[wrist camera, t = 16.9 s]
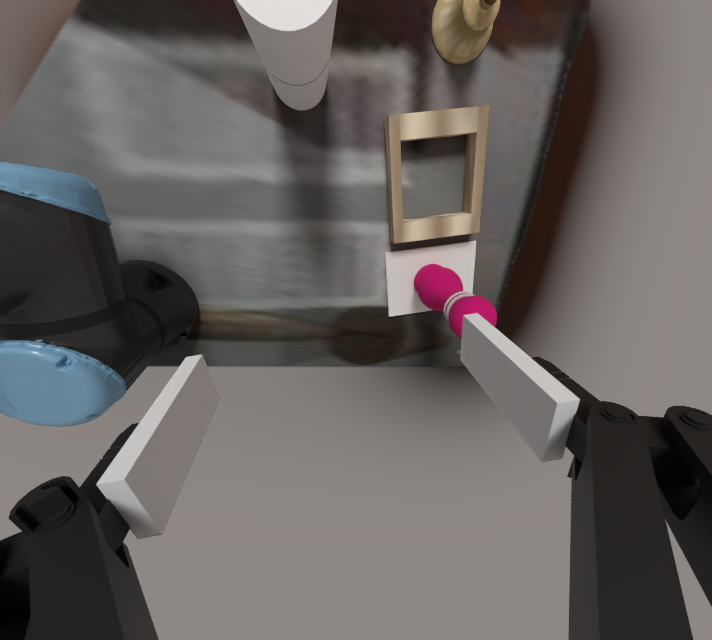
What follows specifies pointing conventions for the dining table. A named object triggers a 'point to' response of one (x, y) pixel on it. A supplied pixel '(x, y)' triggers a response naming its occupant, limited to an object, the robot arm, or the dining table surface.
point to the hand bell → (463, 28)
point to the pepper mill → (450, 296)
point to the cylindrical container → (292, 45)
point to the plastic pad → (412, 260)
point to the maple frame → (475, 128)
